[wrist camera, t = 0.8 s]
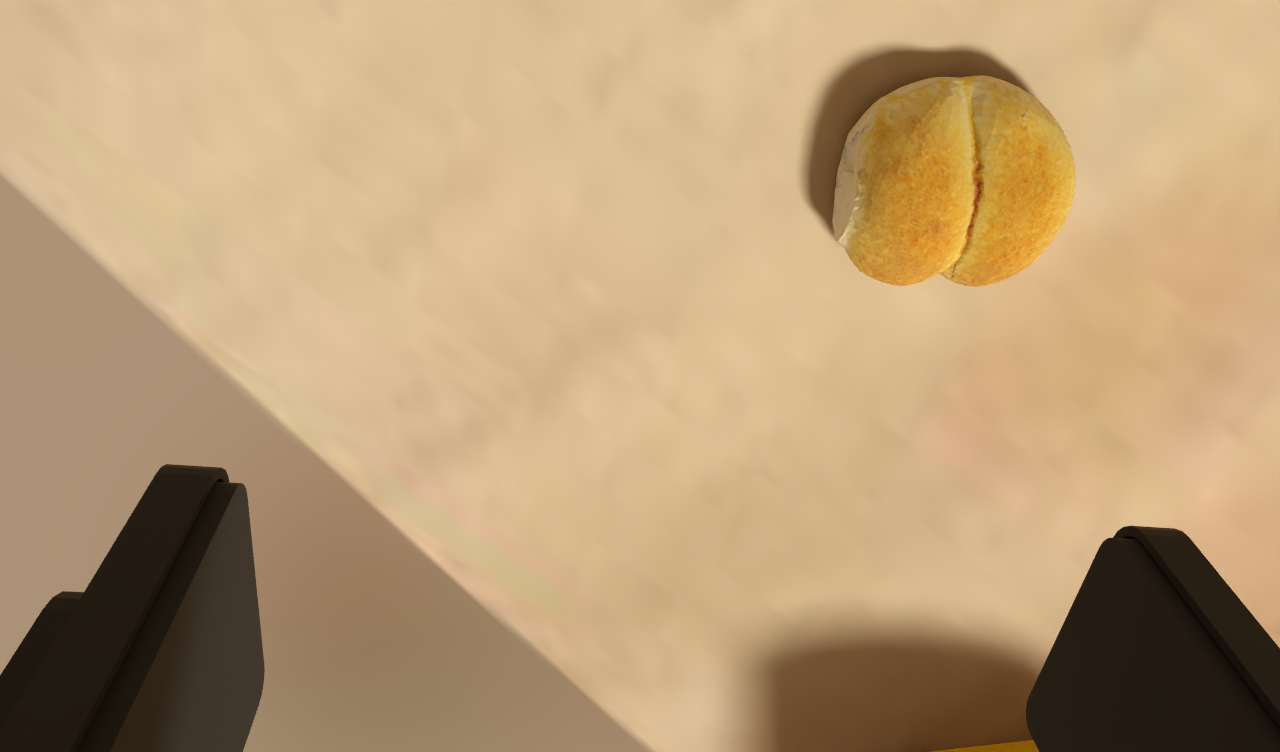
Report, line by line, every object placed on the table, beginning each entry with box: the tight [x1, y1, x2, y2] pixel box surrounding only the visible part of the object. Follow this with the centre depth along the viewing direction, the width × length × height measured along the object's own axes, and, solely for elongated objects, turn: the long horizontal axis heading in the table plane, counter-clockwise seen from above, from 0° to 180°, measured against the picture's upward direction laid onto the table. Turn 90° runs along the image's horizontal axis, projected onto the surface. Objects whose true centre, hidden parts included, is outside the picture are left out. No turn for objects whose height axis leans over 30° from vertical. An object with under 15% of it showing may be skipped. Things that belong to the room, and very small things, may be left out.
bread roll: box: [832, 75, 1076, 287], centre depth 37 cm, size 8×9×4 cm
